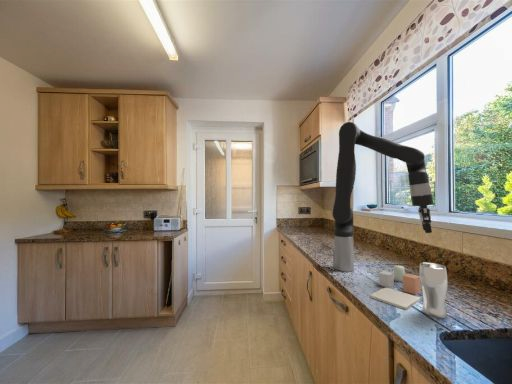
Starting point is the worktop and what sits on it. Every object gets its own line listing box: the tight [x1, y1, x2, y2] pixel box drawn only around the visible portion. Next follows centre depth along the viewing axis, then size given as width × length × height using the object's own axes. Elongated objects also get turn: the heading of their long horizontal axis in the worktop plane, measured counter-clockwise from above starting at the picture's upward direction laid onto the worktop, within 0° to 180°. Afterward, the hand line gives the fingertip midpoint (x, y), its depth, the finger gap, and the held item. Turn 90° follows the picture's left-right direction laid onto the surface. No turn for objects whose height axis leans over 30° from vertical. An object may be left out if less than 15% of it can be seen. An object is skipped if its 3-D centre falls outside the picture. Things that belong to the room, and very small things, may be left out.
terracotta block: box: [402, 272, 422, 296], centre depth 88 cm, size 4×4×6 cm
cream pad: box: [369, 286, 422, 311], centre depth 82 cm, size 12×12×1 cm
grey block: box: [378, 270, 395, 288], centre depth 95 cm, size 4×4×5 cm
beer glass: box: [419, 262, 448, 319], centre depth 71 cm, size 7×7×15 cm
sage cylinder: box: [393, 265, 406, 283], centre depth 100 cm, size 4×4×6 cm
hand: (427, 231), depth 97 cm, fingers open, 8 cm apart
